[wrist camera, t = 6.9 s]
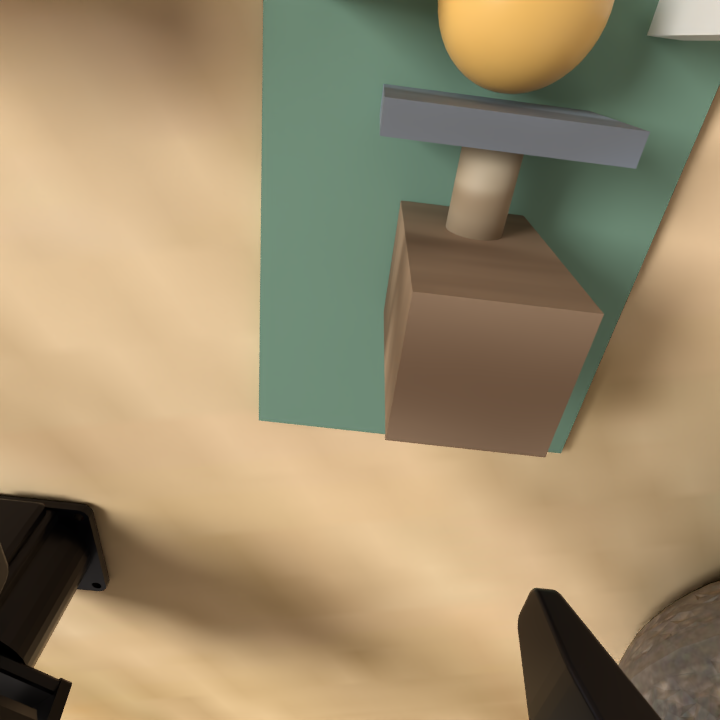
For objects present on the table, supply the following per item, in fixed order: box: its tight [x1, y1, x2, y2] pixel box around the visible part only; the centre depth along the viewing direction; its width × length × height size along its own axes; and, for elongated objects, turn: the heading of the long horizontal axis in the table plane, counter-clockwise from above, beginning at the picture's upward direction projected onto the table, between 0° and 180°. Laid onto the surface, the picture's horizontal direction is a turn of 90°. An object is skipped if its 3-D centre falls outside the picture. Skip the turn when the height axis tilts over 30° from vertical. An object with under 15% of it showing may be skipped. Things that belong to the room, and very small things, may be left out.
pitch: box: [259, 0, 720, 453], centre depth 16 cm, size 21×13×1 cm, turn 174°
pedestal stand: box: [380, 84, 650, 457], centre depth 14 cm, size 7×6×7 cm
